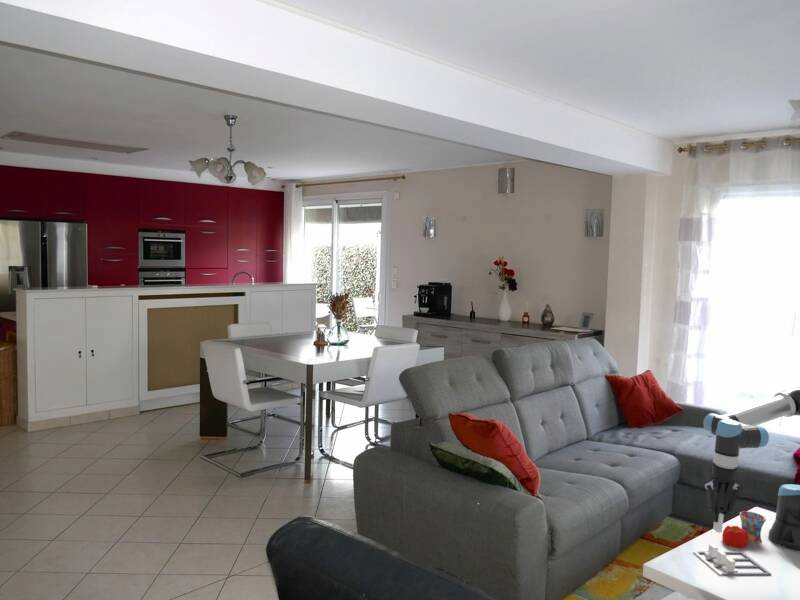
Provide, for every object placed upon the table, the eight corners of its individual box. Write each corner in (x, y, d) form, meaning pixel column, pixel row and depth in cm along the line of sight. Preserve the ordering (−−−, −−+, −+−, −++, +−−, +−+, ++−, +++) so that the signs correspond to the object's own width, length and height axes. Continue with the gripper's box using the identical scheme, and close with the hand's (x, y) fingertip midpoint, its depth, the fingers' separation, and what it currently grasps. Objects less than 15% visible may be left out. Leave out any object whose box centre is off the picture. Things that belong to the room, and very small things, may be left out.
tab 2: (723, 561, 232) (724, 550, 231) (728, 566, 228) (730, 555, 228) (712, 561, 231) (714, 550, 231) (718, 566, 228) (719, 555, 228)
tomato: (733, 540, 254) (735, 522, 253) (752, 551, 245) (754, 532, 245) (715, 543, 250) (717, 524, 250) (734, 553, 242) (736, 534, 241)
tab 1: (714, 554, 237) (715, 543, 236) (720, 559, 233) (721, 548, 233) (704, 554, 236) (705, 543, 236) (709, 559, 233) (711, 548, 233)
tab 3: (731, 568, 227) (733, 557, 226) (737, 573, 224) (739, 562, 223) (721, 568, 226) (722, 557, 226) (727, 573, 223) (728, 562, 223)
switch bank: (742, 556, 240) (742, 551, 239) (771, 579, 224) (772, 573, 224) (692, 556, 237) (692, 551, 237) (718, 579, 221) (719, 573, 221)
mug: (756, 549, 247) (759, 523, 246) (732, 539, 254) (734, 513, 253) (770, 542, 254) (773, 516, 253) (746, 533, 261) (749, 508, 260)
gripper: (735, 462, 225) (728, 526, 228) (701, 461, 224) (693, 525, 226) (749, 469, 218) (741, 535, 220) (713, 468, 217) (706, 535, 219)
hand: (717, 530), depth 223 cm, fingers closed
